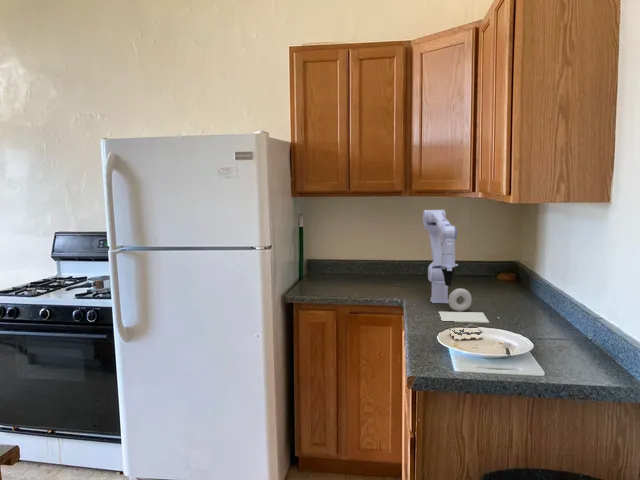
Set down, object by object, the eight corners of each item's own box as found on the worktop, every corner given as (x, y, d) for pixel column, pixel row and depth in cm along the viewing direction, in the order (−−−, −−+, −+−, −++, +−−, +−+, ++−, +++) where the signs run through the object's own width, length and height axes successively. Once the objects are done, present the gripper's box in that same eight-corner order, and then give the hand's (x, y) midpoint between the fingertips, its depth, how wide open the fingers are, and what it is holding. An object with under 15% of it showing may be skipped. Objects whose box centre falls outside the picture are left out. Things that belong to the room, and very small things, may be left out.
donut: (449, 312, 206) (450, 289, 204) (446, 310, 209) (447, 287, 208) (472, 312, 206) (473, 288, 205) (469, 309, 210) (470, 287, 209)
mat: (438, 312, 207) (438, 311, 207) (482, 313, 204) (482, 312, 204) (441, 321, 193) (441, 320, 193) (489, 322, 190) (489, 321, 190)
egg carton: (475, 334, 178) (476, 323, 177) (484, 340, 170) (484, 329, 170) (447, 335, 177) (447, 324, 176) (454, 341, 169) (454, 330, 169)
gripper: (459, 255, 202) (459, 288, 203) (456, 252, 216) (456, 282, 217) (441, 255, 203) (441, 288, 204) (439, 252, 217) (439, 282, 218)
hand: (448, 285), depth 210 cm, fingers closed
